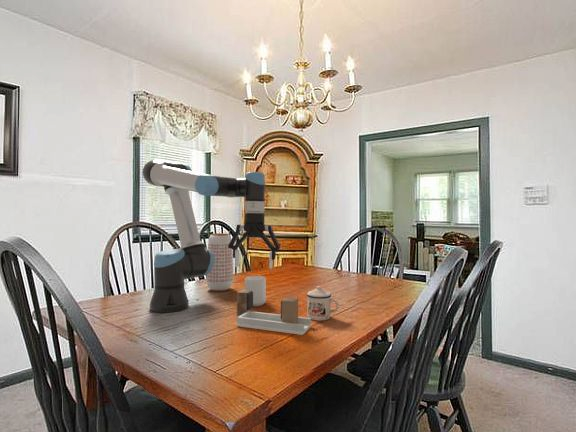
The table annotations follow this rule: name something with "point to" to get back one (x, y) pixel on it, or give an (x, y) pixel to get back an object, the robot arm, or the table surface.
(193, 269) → the robot arm
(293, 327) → the rail
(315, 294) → the teacup with lid
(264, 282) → the mug
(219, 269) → the white patterned vase
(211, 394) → the table surface
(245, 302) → the block
